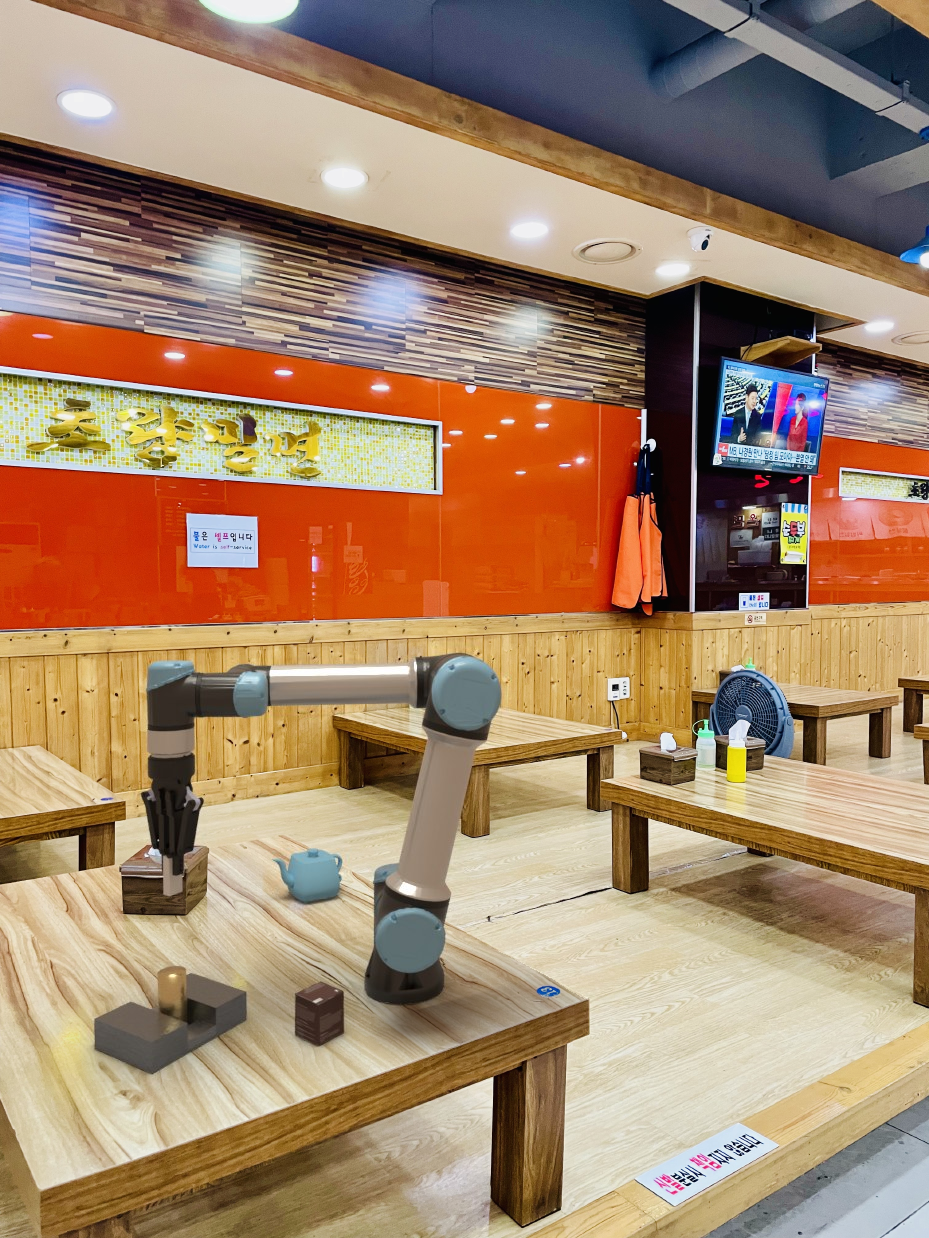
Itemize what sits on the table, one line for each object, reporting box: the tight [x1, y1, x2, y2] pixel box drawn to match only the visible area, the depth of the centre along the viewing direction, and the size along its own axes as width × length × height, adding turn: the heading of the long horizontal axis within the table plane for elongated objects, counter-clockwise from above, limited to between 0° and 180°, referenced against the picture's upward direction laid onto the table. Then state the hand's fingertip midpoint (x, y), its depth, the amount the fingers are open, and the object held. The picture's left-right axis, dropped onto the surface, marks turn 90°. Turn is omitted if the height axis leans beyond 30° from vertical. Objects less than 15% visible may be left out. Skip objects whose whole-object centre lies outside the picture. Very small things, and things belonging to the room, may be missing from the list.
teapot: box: [271, 848, 343, 904], centre depth 213 cm, size 12×18×12 cm
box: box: [294, 981, 345, 1047], centre depth 147 cm, size 6×6×7 cm
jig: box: [93, 972, 248, 1075], centre depth 147 cm, size 14×20×5 cm
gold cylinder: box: [156, 965, 187, 1023], centre depth 147 cm, size 5×5×10 cm
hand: (173, 892), depth 146 cm, fingers closed
